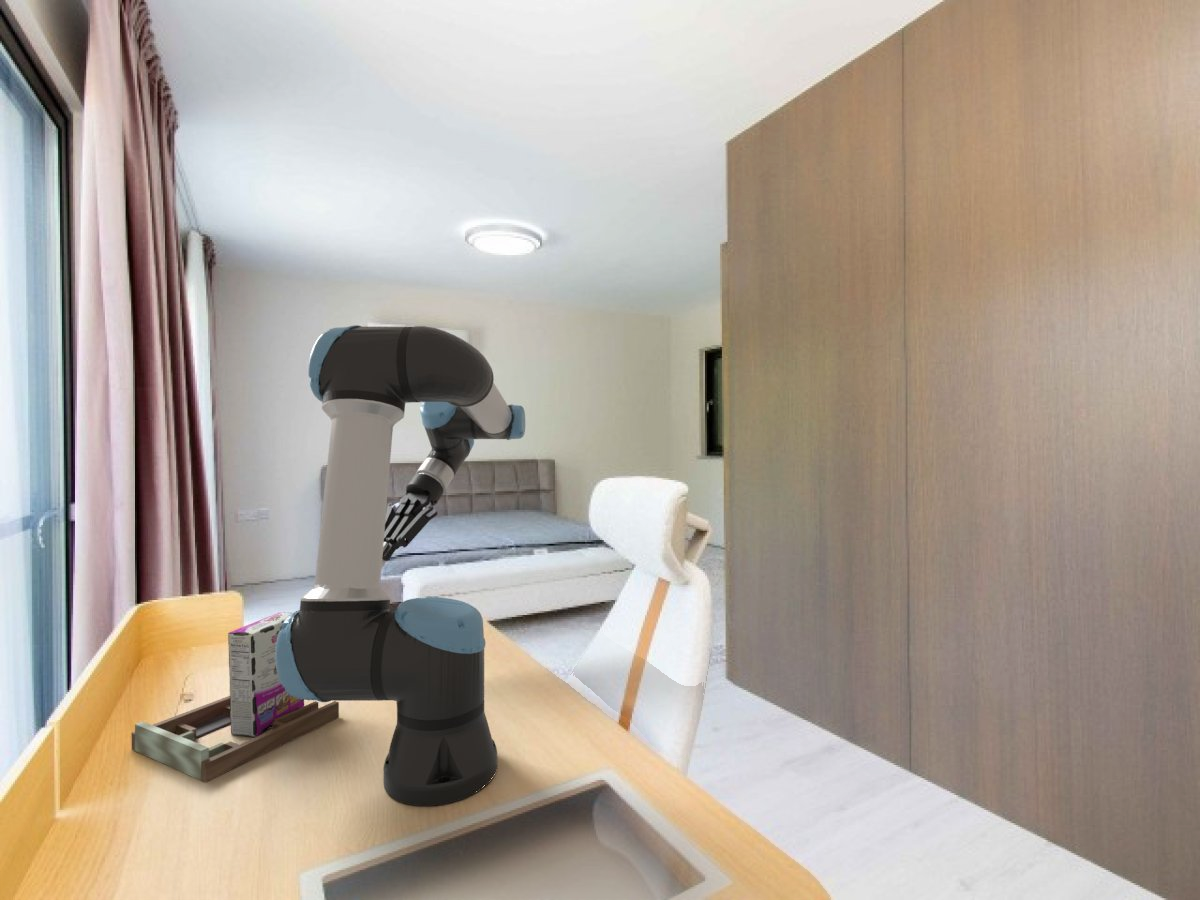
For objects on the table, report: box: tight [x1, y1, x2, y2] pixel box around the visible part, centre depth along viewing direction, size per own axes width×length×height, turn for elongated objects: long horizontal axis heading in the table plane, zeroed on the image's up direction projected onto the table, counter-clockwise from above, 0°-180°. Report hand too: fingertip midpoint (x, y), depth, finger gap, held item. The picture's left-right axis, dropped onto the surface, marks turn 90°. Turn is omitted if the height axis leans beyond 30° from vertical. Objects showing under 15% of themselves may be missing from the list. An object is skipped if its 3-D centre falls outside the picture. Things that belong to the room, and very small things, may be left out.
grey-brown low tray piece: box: [130, 695, 340, 783], centre depth 92 cm, size 19×21×4 cm
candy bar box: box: [227, 611, 305, 738], centre depth 96 cm, size 11×5×16 cm, turn 168°
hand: (369, 572), depth 115 cm, fingers closed
